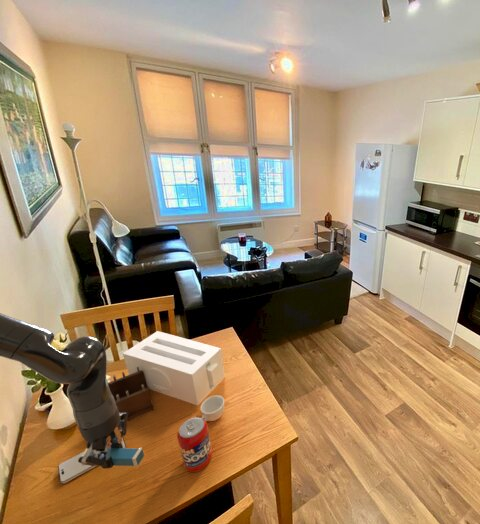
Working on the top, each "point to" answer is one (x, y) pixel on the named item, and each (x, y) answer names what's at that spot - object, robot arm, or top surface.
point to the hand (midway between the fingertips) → (113, 459)
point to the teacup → (212, 408)
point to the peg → (124, 456)
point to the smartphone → (74, 467)
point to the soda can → (195, 444)
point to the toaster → (177, 366)
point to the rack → (131, 394)
